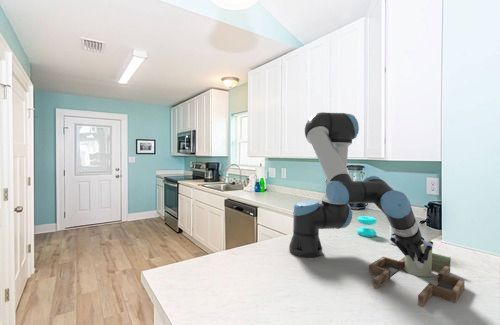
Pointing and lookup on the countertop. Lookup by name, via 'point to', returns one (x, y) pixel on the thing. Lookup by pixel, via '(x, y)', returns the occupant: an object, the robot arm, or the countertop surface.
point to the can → (412, 267)
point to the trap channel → (444, 289)
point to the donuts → (365, 231)
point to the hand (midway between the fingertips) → (420, 265)
